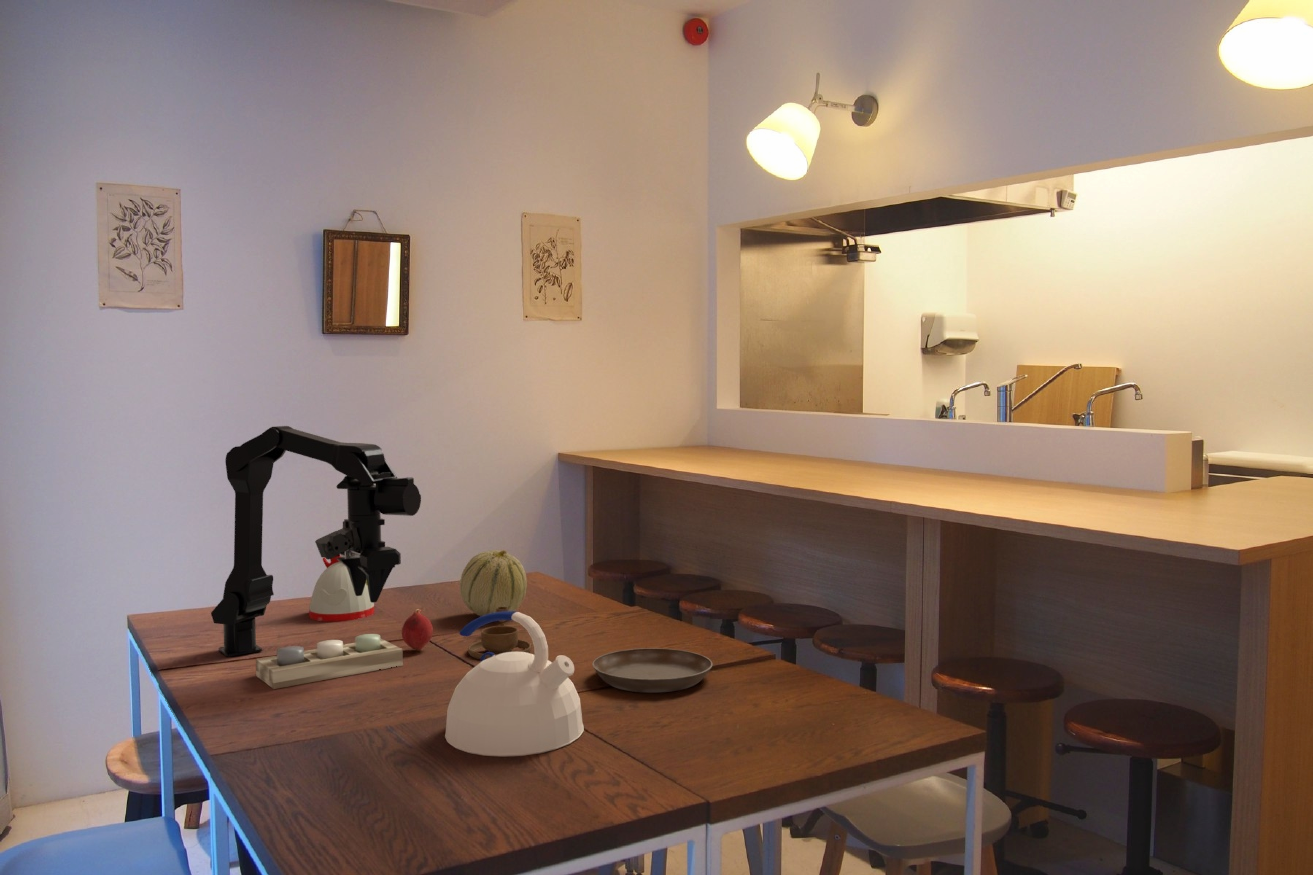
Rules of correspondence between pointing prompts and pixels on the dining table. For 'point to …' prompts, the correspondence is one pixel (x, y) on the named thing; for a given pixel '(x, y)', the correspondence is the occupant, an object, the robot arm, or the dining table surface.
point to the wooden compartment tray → (328, 665)
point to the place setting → (498, 639)
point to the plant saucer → (652, 669)
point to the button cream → (329, 649)
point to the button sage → (367, 643)
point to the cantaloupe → (493, 582)
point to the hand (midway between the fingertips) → (366, 598)
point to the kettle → (514, 699)
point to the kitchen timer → (338, 596)
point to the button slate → (290, 655)
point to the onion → (417, 630)
